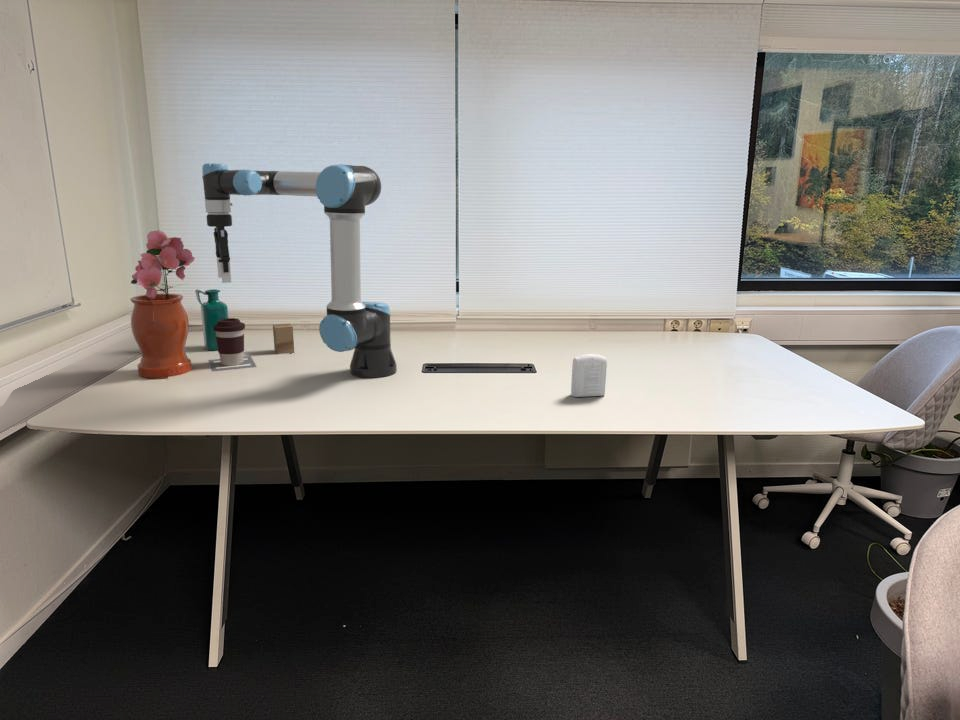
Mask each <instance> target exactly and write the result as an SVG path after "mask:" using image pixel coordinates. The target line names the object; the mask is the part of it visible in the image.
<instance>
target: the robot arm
mask: <svg viewBox="0 0 960 720" xmlns="http://www.w3.org/2000/svg"><path fill="white" fill-rule="evenodd" d="M201 169H202V170H201V171H202V182H203V193H204V208H205V212H206V213H207V215H206V223H207V224H206V225H207V226H208V227H212V228H214V229H213V238H214V243H215V255H216V256H215V257H216V263H217V277H218V278H221V283H222V284H225V283H226V284H228V283H232V274H231V263H230V261H231V257H230V251H229V250H230V249H229V240H228V236H229V234H228V231H227V229H225V227H232V226H233V216H232V214H230V213H231V212H232V208H231V207H232V206H233V203H232V202H231V195H232V196H262V195H263V196H264V195H266V196H294V197H297V196H298V197H315V198H316V197H317V199H318V200H319V202H320V203H321V204H322V205H323V211H324V212H323V213H324V214H325V215H326V217H328V219H329V239H330V240H329V241H330V243H329V245H330V249H329V250H330V280H331V281H330V285H331V287H330V288H331V289H330V291H331V293H330V294H331V295H330V296H331V300H330V301H329V302H328V303H327V305H326V316H324V317H323V318H322V320H321V321H320V323H319V326H318V327H319V328H318V331H319V335H320V338H321V340H322V342H323V343H324V344H325V345H326V347H327V348H329V349H330V350H332V351H334V352H337V353H343V352H350V351H352V350H353V354H352V357H351V361H350V365H349V372H350V374H351V375H352V376H355V377H360V378H368V379H369V378H383V377H389V376H391V375H394V374H396V373H397V367H398V366H397V362H396V360H395V357H394V353H393V351H392V347H391V345H392V344H391V342H392V341H391V311H390V306H389V304H388V303H385V302H379V301H378V302H377V301H362V300H361V298H362V297H361V289H362V288H361V286H362V285H361V219H362V218H363V216H365V215H366V206H369V205H371V204H373V203H375V202H376V201H377V199H378V198H379V197H380V195H381V191H382V181H381V178H380V177H379V175H378V174H377V172H376V171H375V170H374V169H372V168H370V167H368V166H365V165H351V164H342V163H341V164H333V165H329V166H326V167H324V168H323V170H322V171H319V172H318V171H287V170H286V171H284V170H283V171H282V170H251V169H234V170H233V169H232V170H231V169H230V170H229V169H228V165H227V164H226V163H215V162H213V163H210V162H209V163H204V164H202V168H201Z"/></svg>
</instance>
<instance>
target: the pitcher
mask: <svg viewBox="0 0 960 720" xmlns="http://www.w3.org/2000/svg"><path fill="white" fill-rule="evenodd" d="M220 292H221V290H220V289H207V290H204V291H202V290H201V289H199V288H198V289H195V295H196V296H195V297H196V300H197V302H198V303H199V304H200V314H201V324H202V332H203V333H202V334H203V345H204V348H205V350H207V351H209V352H213V350H216V351H218V347H217V341H216V331H214V330H213V325H215V324H217V322H218V320H220V319H226V318H229V309H228V305H227V304H226V303H225V302H223V301H222V300H221V301H220V298H219V293H220ZM200 293H201V294H203V295H205V296H207V301H205V302H202V301H201V297H200Z"/></svg>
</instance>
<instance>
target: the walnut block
mask: <svg viewBox="0 0 960 720" xmlns="http://www.w3.org/2000/svg"><path fill="white" fill-rule="evenodd" d="M272 333H273V347H274V352H275V353H276V355H284V354H289V355H292V353H294V354H295V342H294V341H295V339H294V327H293V325H292V324H291V323H281V324H272Z"/></svg>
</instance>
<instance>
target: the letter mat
mask: <svg viewBox="0 0 960 720" xmlns="http://www.w3.org/2000/svg"><path fill="white" fill-rule="evenodd" d="M208 363H209V367H210V370H211V372H218V371H221V372H222V371H231V370H240V369H248V368H250V369H251V368H257V364H256V362H255V361H254V359H253V358H252V356H251V355H248V356H247V355H246V356H245V355H244V362H243V363H242V364H240V365H235V366H225V365H222V364H221V361H220V358H217V359H215V358H213V359H208Z"/></svg>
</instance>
